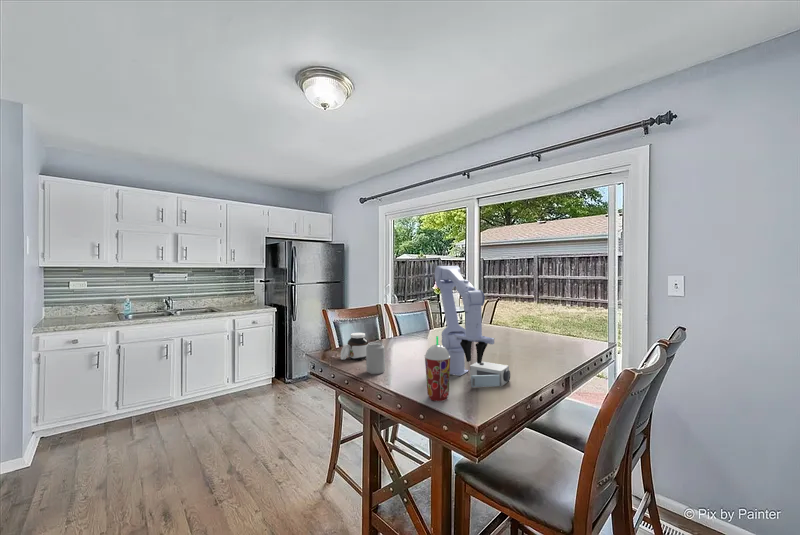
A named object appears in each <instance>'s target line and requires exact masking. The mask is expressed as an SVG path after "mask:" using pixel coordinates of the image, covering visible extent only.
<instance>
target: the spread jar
mask: <svg viewBox="0 0 800 535" xmlns="http://www.w3.org/2000/svg"><path fill="white" fill-rule="evenodd" d="M368 343H369V341H368V339H367V338H366V333H364V332H352V333H350V338H349V339H348V341H347V344H344V345H343V346H342V348H341V350H340V360H343V361H345V360H346V359H347V358H349V359H350V360H352V361H356V360H358V361H364V360H366V347H367V346H368Z"/></svg>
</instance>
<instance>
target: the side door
mask: <svg viewBox="0 0 800 535" xmlns="http://www.w3.org/2000/svg"><path fill="white" fill-rule="evenodd" d="M470 386H471V388H483V387H484V388H485V387H487V388H488V387H489V388H490V387H501V386H502V379H501V375H500V374H499V375H471V381H470ZM502 387H503V386H502Z"/></svg>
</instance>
